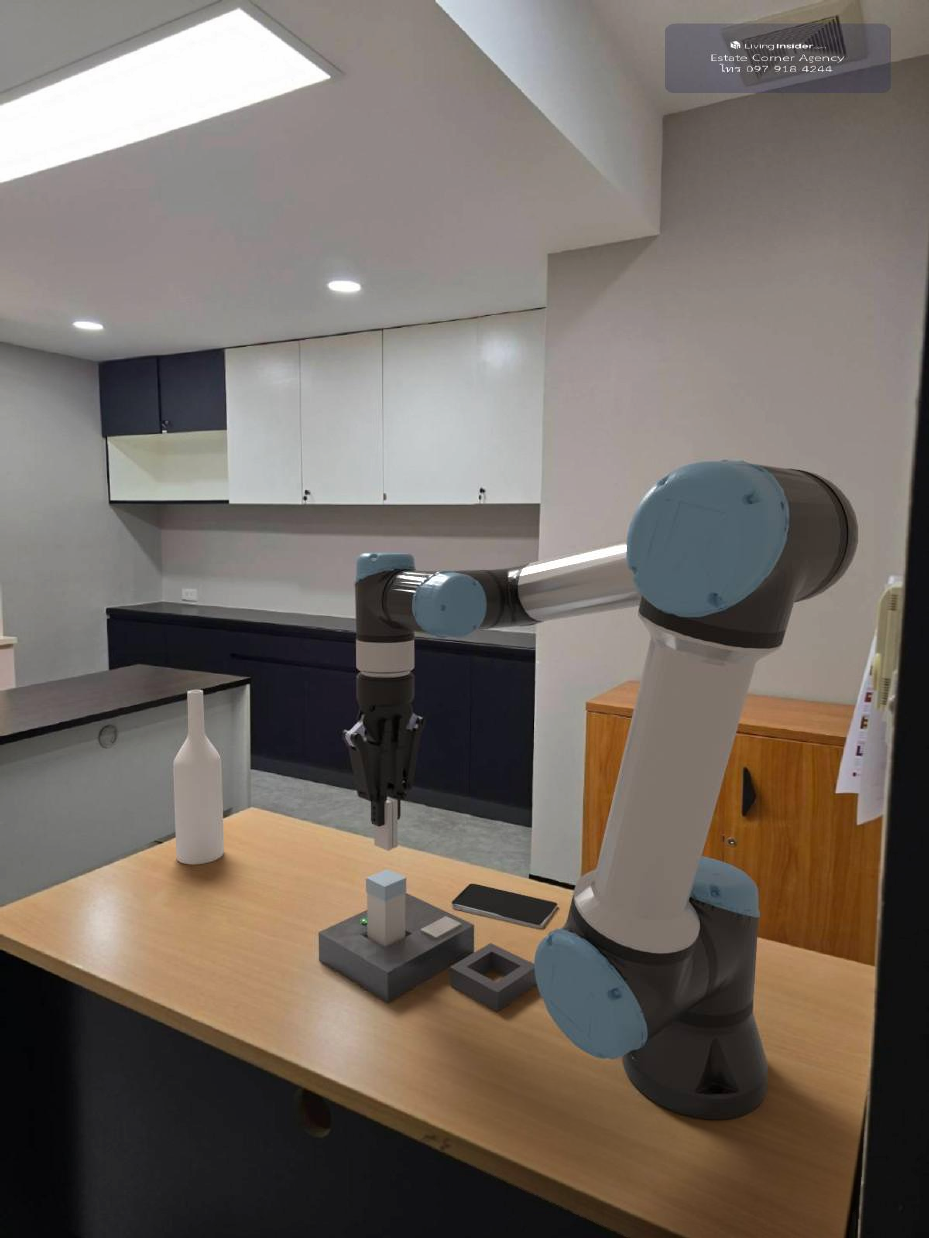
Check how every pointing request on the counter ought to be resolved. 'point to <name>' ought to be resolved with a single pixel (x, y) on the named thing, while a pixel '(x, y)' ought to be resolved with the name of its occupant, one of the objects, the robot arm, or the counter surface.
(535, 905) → the smartphone
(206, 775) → the bottle
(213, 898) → the counter surface
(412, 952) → the panel
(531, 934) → the counter surface
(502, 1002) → the grey square ring
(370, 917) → the plug
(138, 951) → the counter surface
